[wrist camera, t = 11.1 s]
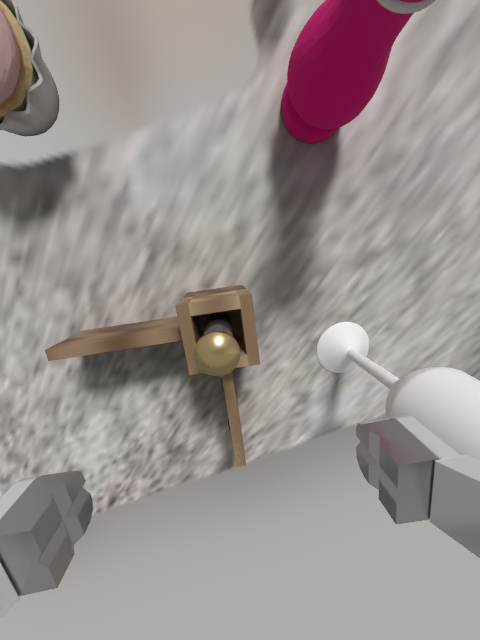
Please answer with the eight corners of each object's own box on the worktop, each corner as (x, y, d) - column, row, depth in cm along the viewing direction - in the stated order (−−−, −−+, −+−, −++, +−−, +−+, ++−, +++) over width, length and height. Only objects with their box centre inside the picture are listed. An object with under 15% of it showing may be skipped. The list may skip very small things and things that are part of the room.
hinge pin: (232, 306, 24) (237, 329, 15) (236, 335, 24) (242, 372, 16) (201, 310, 23) (190, 336, 15) (206, 339, 24) (198, 379, 16)
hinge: (118, 448, 30) (84, 512, 22) (76, 308, 26) (15, 328, 18) (260, 423, 31) (273, 477, 23) (242, 285, 27) (251, 294, 19)
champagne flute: (352, 380, 31) (763, 744, 8) (307, 362, 30) (628, 726, 6) (379, 333, 30) (966, 598, 6) (333, 313, 28) (844, 542, 5)
